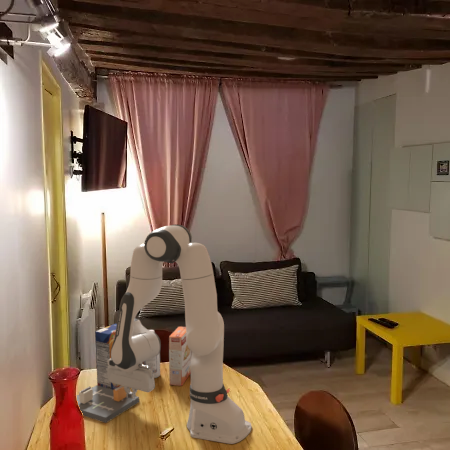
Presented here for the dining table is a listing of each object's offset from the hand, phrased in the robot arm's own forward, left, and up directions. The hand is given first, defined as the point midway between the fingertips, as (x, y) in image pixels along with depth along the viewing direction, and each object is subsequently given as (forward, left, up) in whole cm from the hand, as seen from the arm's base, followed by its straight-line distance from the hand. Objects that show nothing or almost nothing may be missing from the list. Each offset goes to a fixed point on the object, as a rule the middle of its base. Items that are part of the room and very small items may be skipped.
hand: (131, 397), depth 181 cm
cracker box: (-2, -30, -4) cm, 30 cm away
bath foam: (+11, -27, -4) cm, 30 cm away
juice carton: (+19, -12, -4) cm, 23 cm away
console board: (+11, +4, -4) cm, 13 cm away
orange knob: (+5, 0, -2) cm, 6 cm away
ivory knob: (+15, +7, -2) cm, 17 cm away
